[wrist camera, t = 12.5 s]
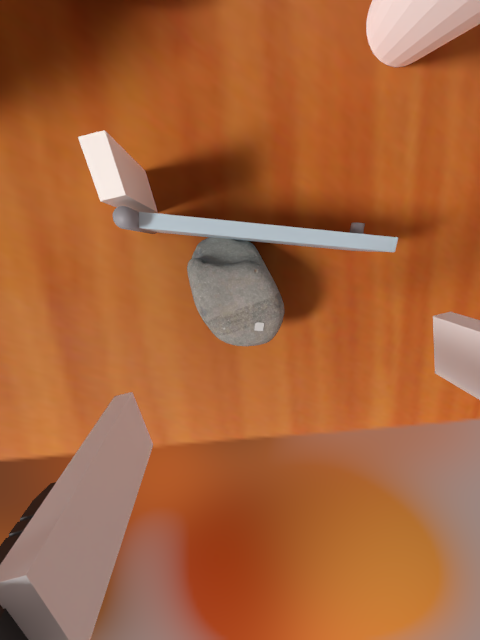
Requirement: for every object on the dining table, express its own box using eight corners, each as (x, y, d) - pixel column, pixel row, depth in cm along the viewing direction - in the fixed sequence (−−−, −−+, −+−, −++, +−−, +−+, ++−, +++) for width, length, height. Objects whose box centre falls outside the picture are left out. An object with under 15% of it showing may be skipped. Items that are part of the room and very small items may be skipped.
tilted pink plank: (127, 175, 28) (77, 136, 18) (145, 170, 28) (104, 130, 18) (141, 216, 29) (100, 201, 19) (157, 212, 29) (125, 195, 19)
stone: (269, 225, 30) (292, 277, 22) (269, 291, 36) (288, 349, 28) (186, 236, 30) (182, 292, 22) (201, 300, 36) (202, 361, 28)
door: (144, 233, 29) (113, 227, 20) (143, 206, 28) (112, 189, 20) (353, 252, 31) (401, 254, 22) (357, 228, 30) (409, 221, 22)
